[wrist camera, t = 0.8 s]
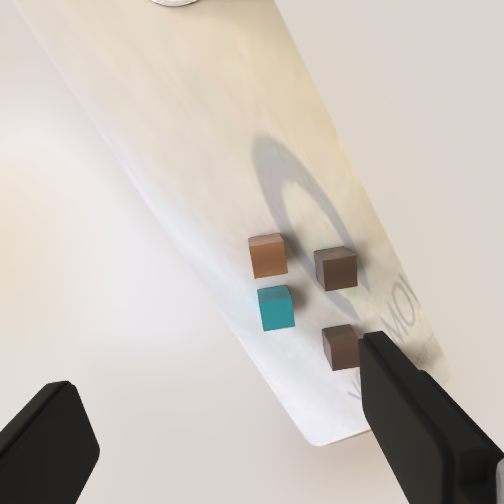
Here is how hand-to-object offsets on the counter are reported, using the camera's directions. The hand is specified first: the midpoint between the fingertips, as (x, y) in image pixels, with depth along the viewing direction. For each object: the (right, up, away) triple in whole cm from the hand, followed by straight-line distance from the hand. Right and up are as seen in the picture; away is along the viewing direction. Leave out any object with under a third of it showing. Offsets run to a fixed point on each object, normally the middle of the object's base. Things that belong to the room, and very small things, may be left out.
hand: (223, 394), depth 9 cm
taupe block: (+12, +3, +31) cm, 34 cm away
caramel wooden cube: (+3, +5, +31) cm, 31 cm away
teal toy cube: (+4, -3, +33) cm, 33 cm away
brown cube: (+14, -9, +35) cm, 39 cm away
